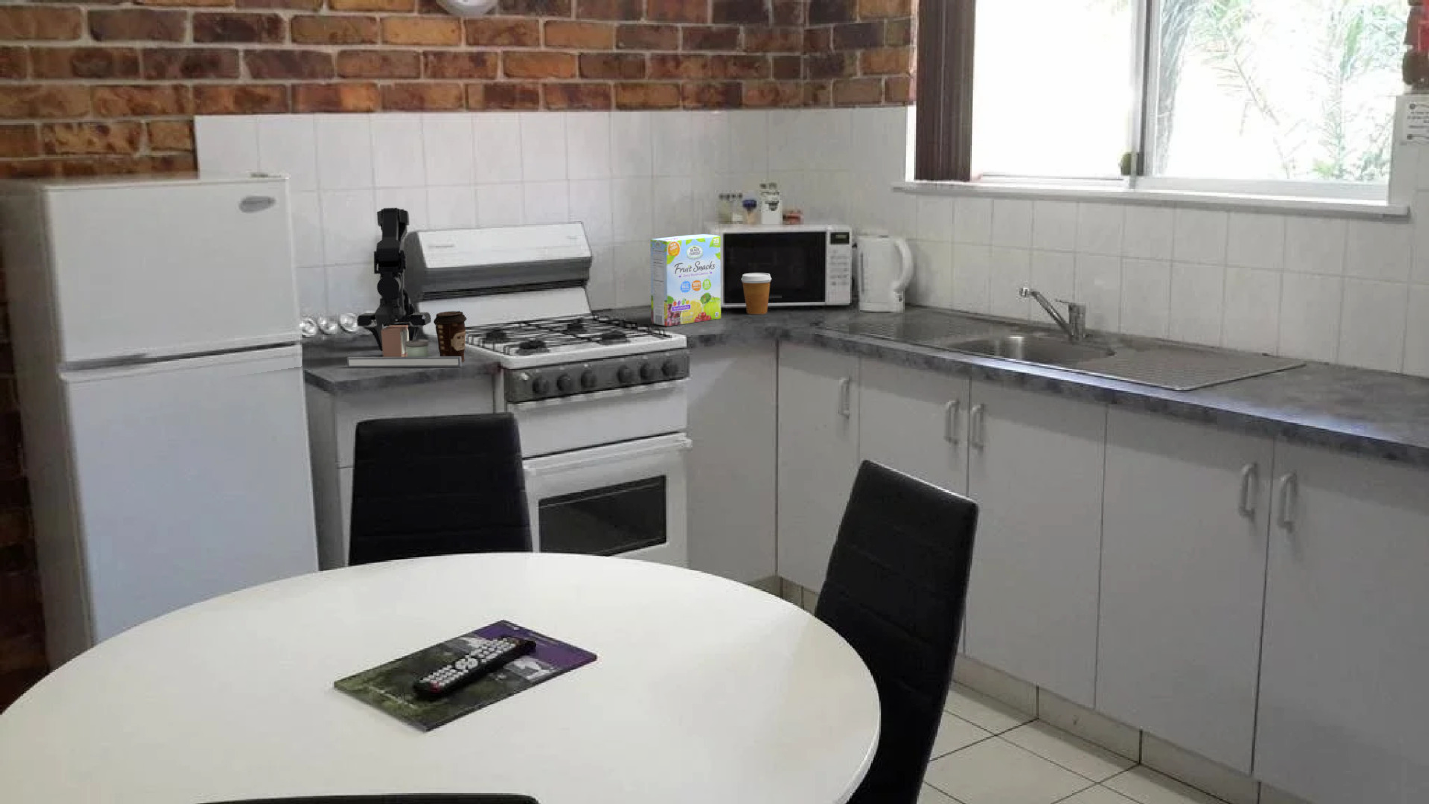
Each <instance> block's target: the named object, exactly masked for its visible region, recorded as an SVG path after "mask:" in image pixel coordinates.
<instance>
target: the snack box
mask: <svg viewBox="0 0 1429 804" xmlns="http://www.w3.org/2000/svg"><path fill="white" fill-rule="evenodd" d="M721 239H722V238H721V236H720V235H717V234H706V233H703V234H702V233H701V234H689V235H677V236H676V235H675V236H670V237H660V238H651V239H650V304H651V305H650V306H651V307H650V308H651V309H650V310H651V311H650V315H651V324H653V325H659V326H663V327H671V326H672V327H673V326H679V325H687V324H693V323H699V322H701V323H702V322H706V321H713V320H719V319H720V320H721V319H722V302H721V301H722V300H721V299H722V295H721V294H722V293H721V292H722V291H721V290H722V289H721V285H722V282H721V281H722V279H721V277H722V276H721V273H722V271H721V264H722V263H721V259H722V258H721V257H722V255H721V254H722V253H721V243H722V241H721Z"/></svg>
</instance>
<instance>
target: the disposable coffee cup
mask: <svg viewBox="0 0 1429 804" xmlns="http://www.w3.org/2000/svg"><path fill="white" fill-rule="evenodd" d="M740 280H741V282H742V287H743V295H744V300H745V307H746V308H745V309H746V314H749V315H764V314H767V313H768V307H769V297H770V296H769V295H770V288H771V281H772V277H771V274H770V273H766V272H749V273H744V274H742V277H741V279H740Z"/></svg>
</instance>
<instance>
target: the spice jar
mask: <svg viewBox="0 0 1429 804" xmlns="http://www.w3.org/2000/svg"><path fill="white" fill-rule="evenodd" d="M429 345H430V343H429V340H428V339H415V340H410V341H406V347H407V356H406V357H430V350H429V349H430V348H429Z"/></svg>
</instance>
